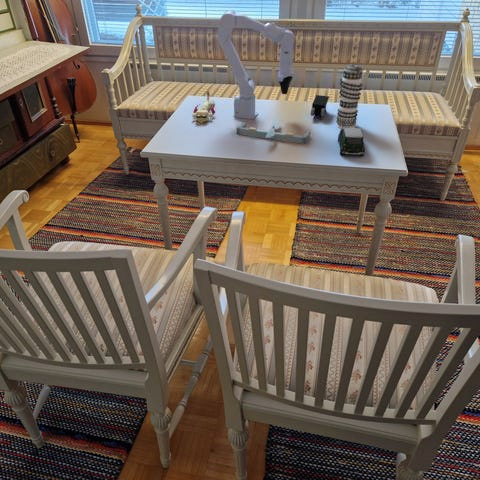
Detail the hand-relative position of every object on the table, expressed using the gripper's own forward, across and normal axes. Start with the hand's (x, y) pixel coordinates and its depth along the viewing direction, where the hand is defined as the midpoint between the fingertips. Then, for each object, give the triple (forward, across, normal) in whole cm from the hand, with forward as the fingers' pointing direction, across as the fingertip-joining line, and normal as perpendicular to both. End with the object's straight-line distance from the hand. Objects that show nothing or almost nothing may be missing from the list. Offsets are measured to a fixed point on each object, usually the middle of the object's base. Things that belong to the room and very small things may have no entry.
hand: (284, 93), depth 189 cm
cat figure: (+11, -10, +35) cm, 38 cm away
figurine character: (+11, +7, -15) cm, 20 cm away
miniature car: (+11, -24, -36) cm, 44 cm away
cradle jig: (+10, -23, -3) cm, 25 cm away
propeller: (+10, -24, -3) cm, 26 cm away
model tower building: (+11, -1, -29) cm, 31 cm away
